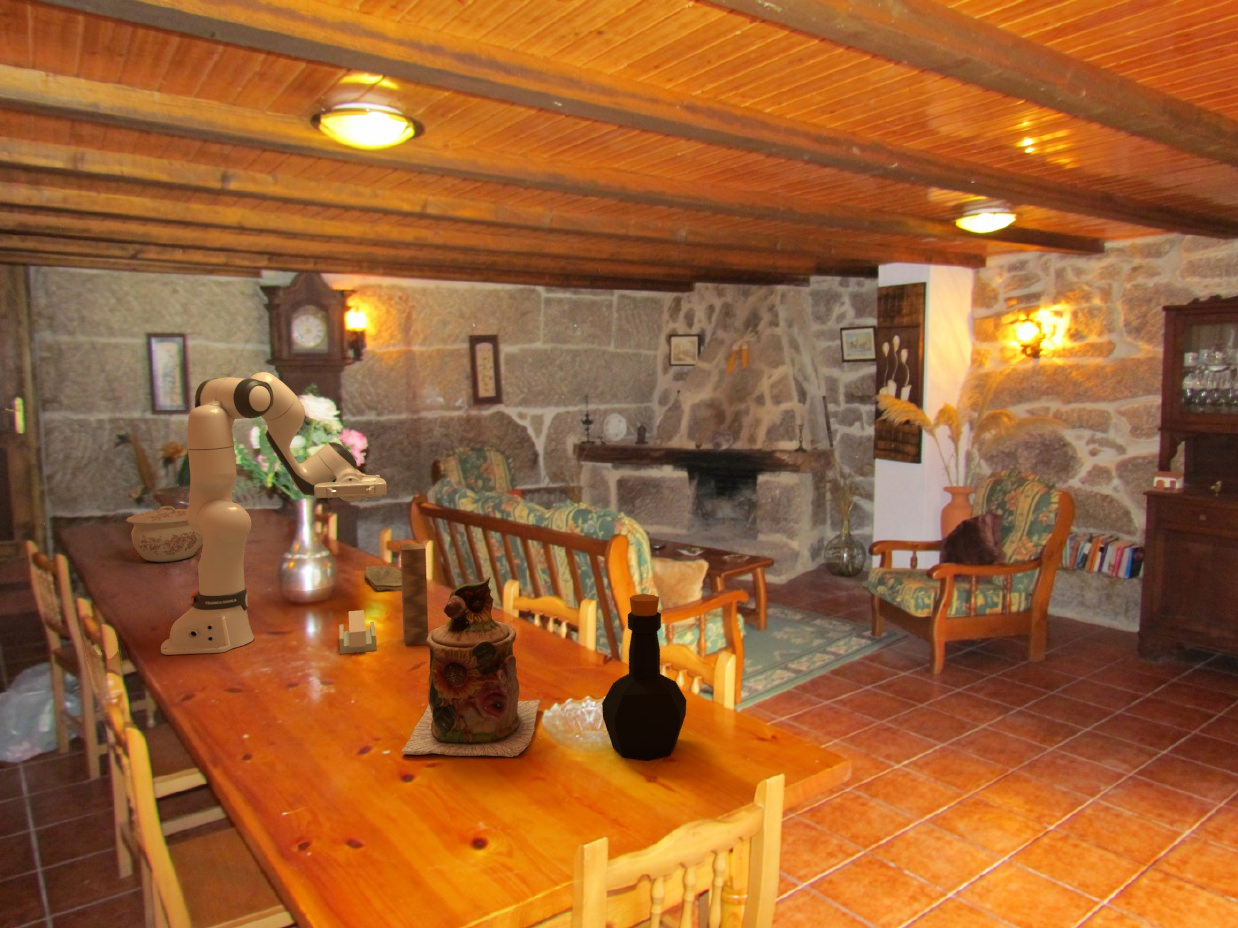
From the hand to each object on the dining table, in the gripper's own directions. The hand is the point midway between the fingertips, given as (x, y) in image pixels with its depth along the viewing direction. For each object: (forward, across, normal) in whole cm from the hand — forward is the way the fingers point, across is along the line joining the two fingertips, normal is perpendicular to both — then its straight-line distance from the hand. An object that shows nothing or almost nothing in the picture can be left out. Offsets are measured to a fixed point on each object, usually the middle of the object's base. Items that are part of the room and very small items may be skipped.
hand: (351, 492), depth 246 cm
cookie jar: (+86, +22, +38) cm, 96 cm away
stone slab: (-47, +10, +39) cm, 62 cm away
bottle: (+103, +52, +38) cm, 122 cm away
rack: (+21, 0, +38) cm, 43 cm away
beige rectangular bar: (+19, 0, +36) cm, 41 cm away
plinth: (+23, +15, +38) cm, 47 cm away
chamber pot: (-110, -67, +38) cm, 134 cm away
